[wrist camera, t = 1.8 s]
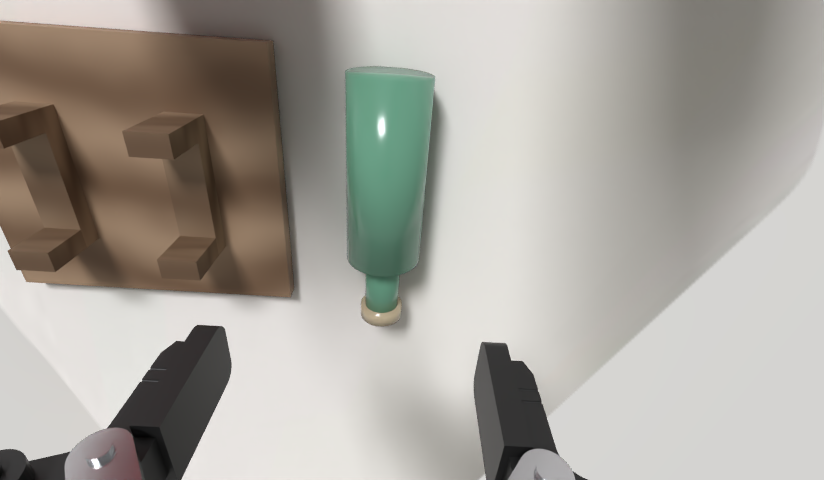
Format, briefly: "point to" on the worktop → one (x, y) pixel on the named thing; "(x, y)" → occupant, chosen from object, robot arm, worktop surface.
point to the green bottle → (386, 179)
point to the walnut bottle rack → (142, 160)
